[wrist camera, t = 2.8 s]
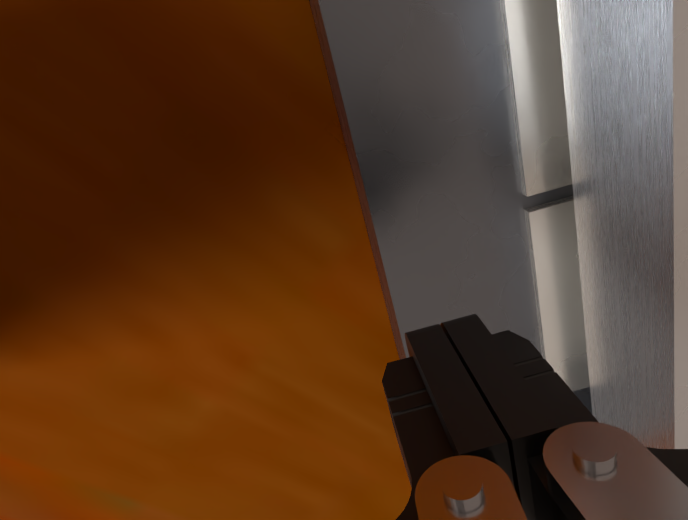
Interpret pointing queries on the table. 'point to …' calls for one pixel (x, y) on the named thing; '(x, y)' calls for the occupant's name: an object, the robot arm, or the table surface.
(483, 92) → the plate
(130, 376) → the table surface
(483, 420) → the robot arm
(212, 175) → the table surface
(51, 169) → the table surface
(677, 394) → the swing bar
